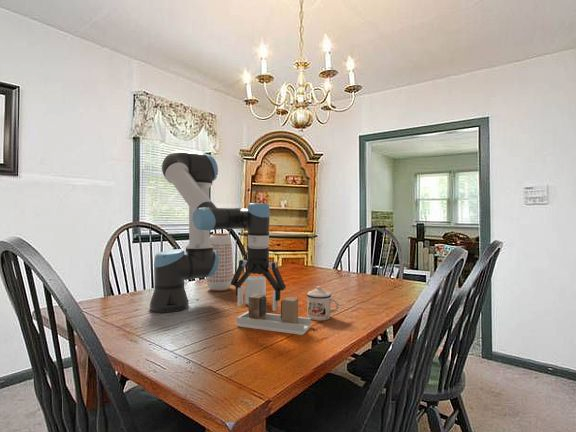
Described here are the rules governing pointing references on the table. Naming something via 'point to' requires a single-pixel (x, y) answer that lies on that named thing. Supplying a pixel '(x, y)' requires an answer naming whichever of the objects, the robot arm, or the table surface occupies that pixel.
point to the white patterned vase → (221, 262)
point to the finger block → (257, 306)
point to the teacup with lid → (319, 304)
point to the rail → (279, 319)
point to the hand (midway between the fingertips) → (257, 307)
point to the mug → (254, 287)
